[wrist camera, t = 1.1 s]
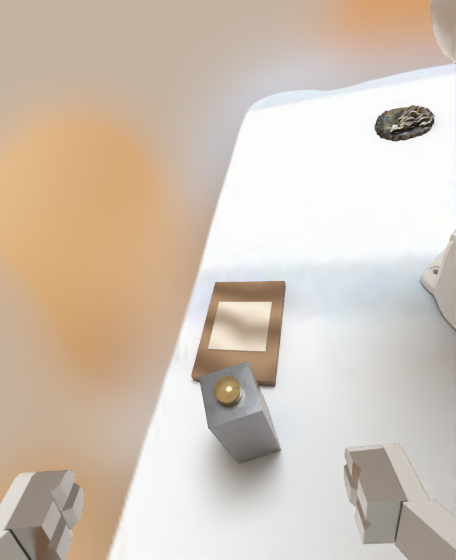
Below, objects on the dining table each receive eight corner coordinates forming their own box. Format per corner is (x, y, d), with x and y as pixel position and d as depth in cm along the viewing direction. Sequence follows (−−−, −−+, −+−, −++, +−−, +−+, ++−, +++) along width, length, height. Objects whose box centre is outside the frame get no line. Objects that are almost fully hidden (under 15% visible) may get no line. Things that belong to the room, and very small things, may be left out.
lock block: (267, 407, 43) (245, 356, 34) (280, 449, 40) (260, 405, 30) (228, 420, 44) (195, 372, 34) (238, 463, 40) (204, 424, 31)
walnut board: (217, 286, 58) (215, 281, 57) (285, 286, 55) (284, 280, 54) (194, 380, 48) (190, 375, 47) (275, 385, 45) (273, 381, 44)
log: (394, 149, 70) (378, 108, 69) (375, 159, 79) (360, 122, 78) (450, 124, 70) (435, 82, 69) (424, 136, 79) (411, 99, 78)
